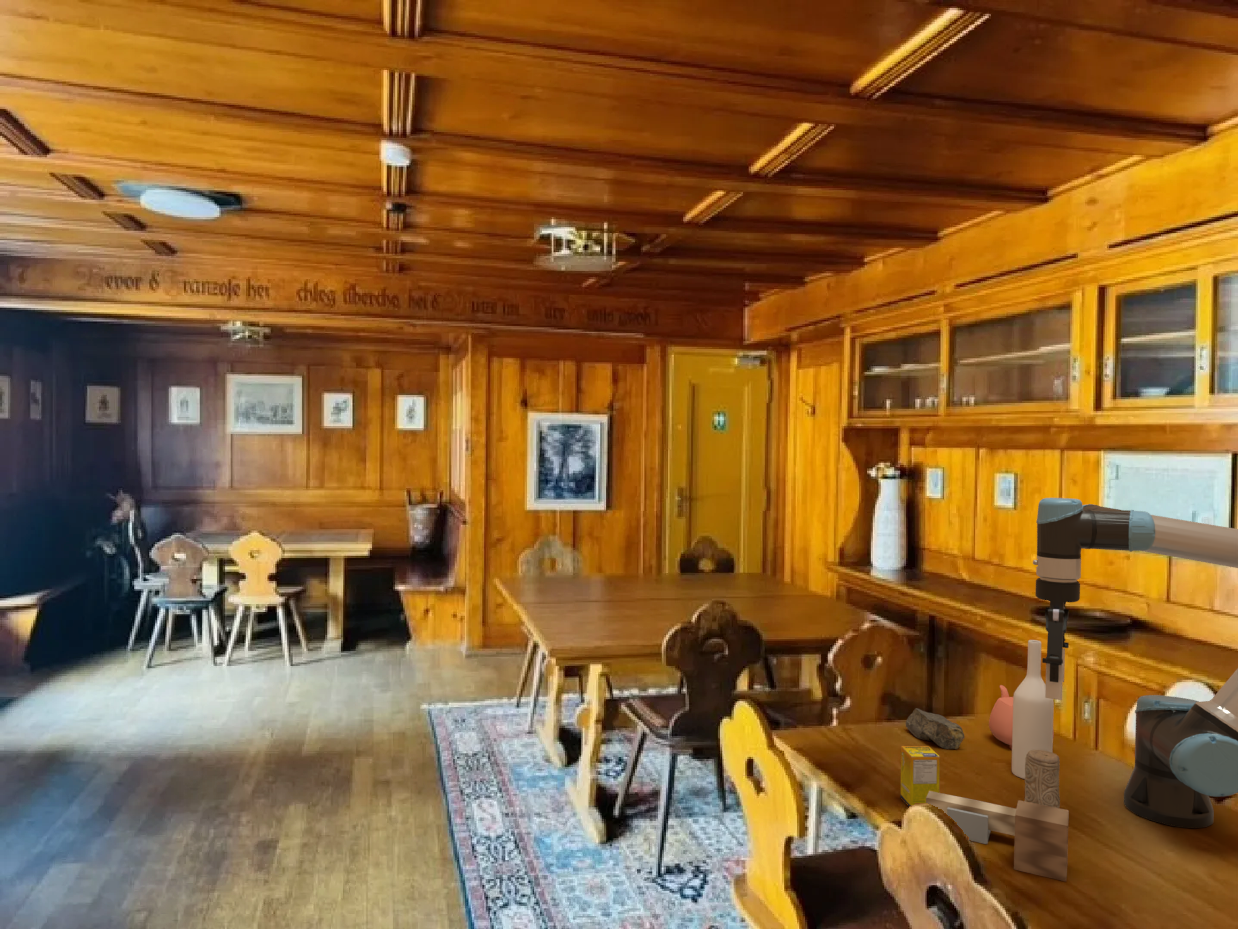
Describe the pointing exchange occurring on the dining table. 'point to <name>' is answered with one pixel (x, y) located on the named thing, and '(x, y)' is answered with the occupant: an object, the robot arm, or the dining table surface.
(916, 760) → the supplement box
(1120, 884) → the dining table surface
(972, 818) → the cradle
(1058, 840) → the block
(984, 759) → the dining table surface
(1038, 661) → the bottle
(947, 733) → the rock
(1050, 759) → the carving
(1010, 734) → the teapot
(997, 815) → the axle bar
